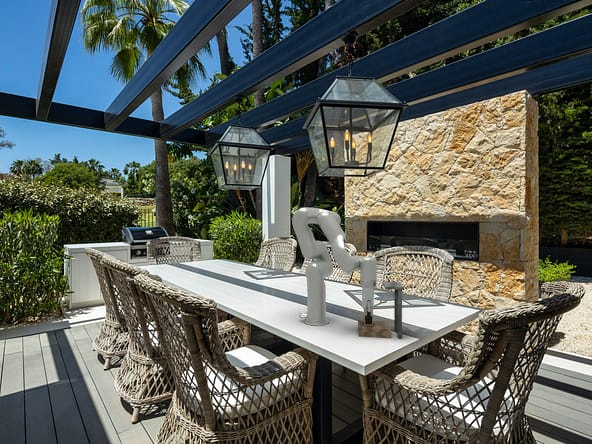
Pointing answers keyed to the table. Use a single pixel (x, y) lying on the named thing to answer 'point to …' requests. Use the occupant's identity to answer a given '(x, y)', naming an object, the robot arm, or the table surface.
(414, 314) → the table surface
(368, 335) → the socket block
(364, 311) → the peg
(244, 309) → the table surface
